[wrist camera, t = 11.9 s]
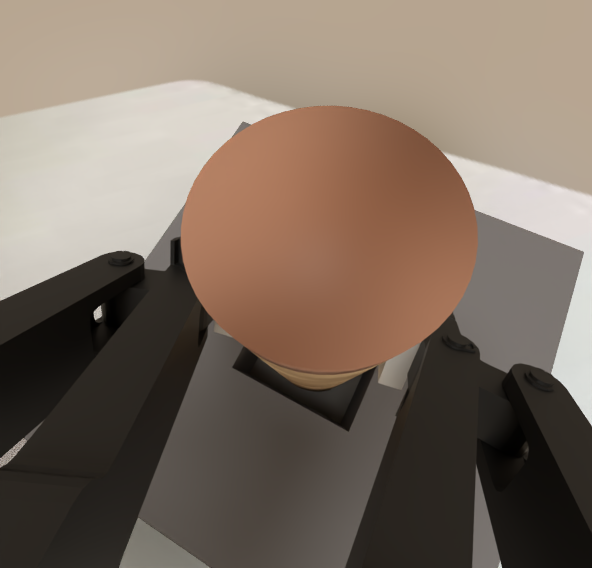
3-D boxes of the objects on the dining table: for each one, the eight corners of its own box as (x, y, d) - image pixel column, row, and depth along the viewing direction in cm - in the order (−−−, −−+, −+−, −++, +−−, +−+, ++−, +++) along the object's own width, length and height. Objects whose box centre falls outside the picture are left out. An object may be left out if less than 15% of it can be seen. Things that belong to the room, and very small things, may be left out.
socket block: (95, 426, 22) (21, 436, 17) (256, 177, 28) (243, 121, 22) (408, 629, 18) (451, 734, 12) (519, 286, 24) (584, 252, 18)
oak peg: (261, 367, 21) (121, 280, 5) (298, 298, 22) (268, 74, 7) (335, 407, 20) (412, 435, 4) (368, 332, 21) (514, 160, 6)
